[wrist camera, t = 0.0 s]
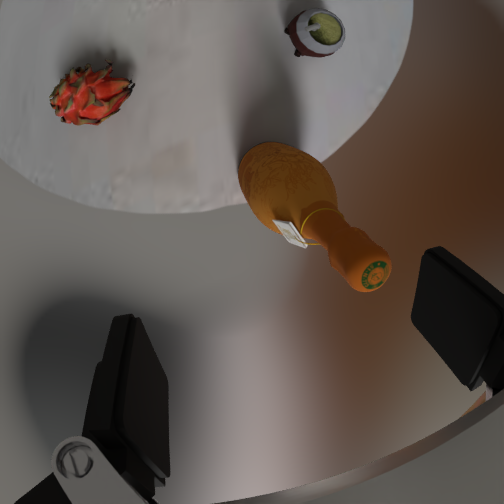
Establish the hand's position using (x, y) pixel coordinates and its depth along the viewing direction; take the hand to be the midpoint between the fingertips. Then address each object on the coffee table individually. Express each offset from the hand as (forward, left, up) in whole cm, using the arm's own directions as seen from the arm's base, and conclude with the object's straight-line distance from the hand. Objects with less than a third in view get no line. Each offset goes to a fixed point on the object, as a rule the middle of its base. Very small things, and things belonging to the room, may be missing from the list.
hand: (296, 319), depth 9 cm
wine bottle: (+8, +3, -38) cm, 39 cm away
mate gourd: (-4, +20, -38) cm, 43 cm away
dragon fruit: (-18, -6, -38) cm, 42 cm away
